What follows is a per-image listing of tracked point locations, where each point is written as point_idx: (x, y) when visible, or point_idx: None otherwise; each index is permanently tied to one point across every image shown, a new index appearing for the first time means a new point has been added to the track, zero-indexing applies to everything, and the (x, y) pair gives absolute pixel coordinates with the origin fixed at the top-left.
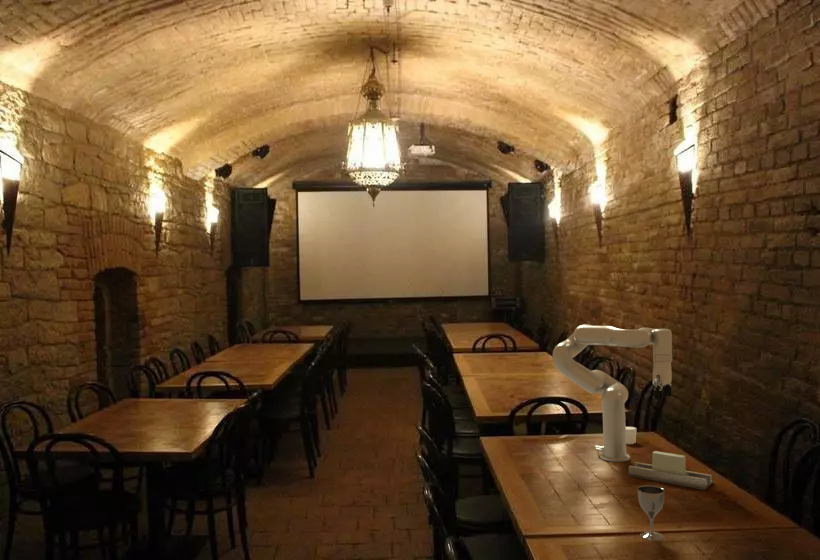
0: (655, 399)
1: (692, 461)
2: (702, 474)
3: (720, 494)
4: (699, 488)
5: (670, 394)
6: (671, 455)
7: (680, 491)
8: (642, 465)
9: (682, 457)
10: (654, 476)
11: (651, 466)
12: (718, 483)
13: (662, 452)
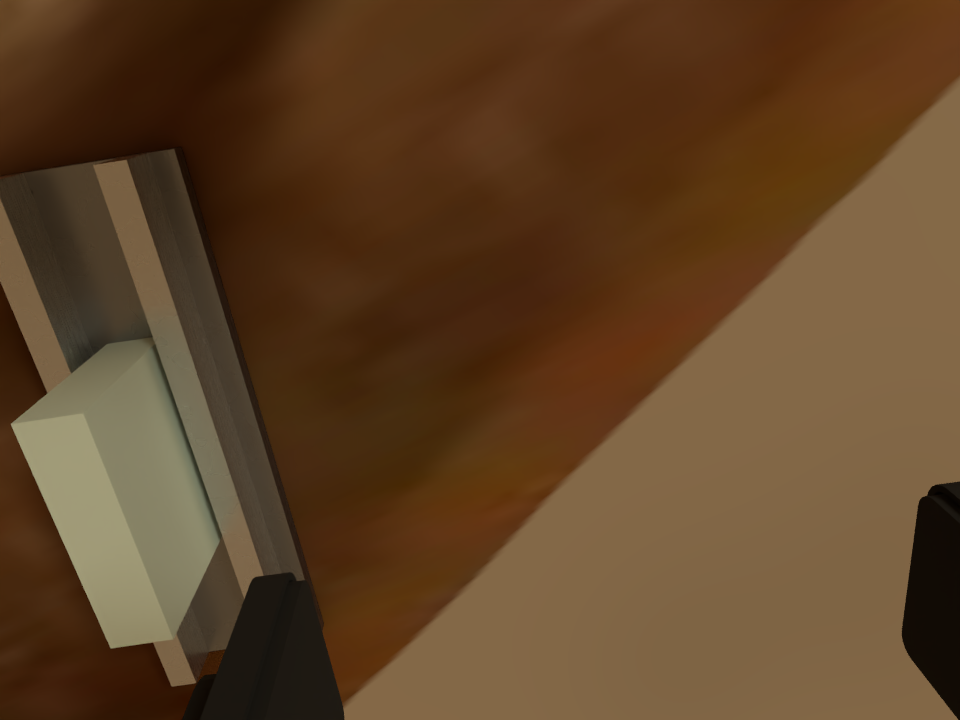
0: (261, 584)
1: (683, 348)
2: None
3: (179, 716)
4: None
5: (932, 680)
6: (87, 569)
7: (34, 577)
8: (123, 238)
9: (113, 645)
10: None
11: (147, 314)
12: (343, 643)
13: (100, 480)
